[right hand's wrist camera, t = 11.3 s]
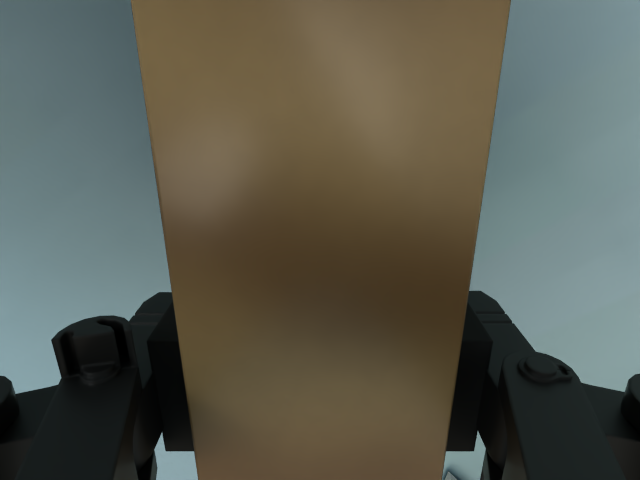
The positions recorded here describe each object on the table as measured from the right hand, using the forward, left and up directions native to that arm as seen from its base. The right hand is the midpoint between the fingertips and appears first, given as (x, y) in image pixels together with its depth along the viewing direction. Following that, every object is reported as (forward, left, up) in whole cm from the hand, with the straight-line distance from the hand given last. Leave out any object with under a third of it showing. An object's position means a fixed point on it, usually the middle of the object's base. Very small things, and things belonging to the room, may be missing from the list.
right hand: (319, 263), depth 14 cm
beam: (+16, +12, -1) cm, 20 cm away
